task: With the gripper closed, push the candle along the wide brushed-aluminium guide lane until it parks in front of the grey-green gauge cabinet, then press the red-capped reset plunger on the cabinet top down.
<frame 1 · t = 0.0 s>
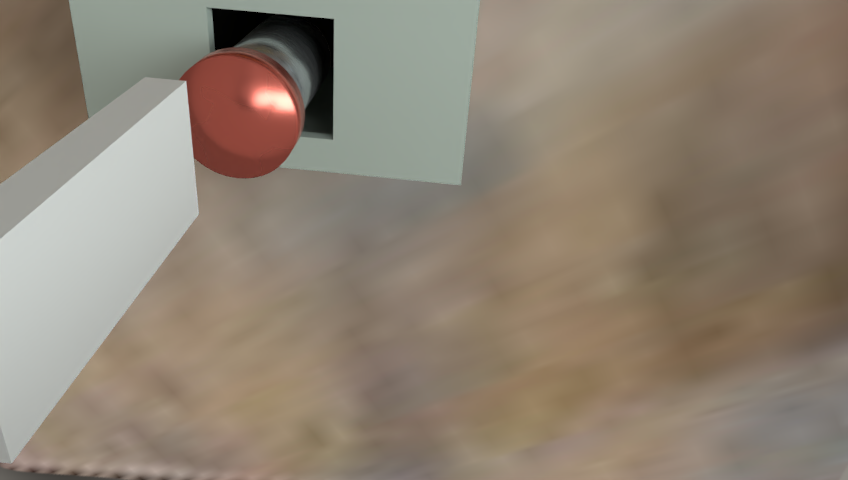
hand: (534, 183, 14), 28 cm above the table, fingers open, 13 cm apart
reset plunger: (265, 83, 29), point 13 cm above the table, slide at 0.0 cm
gauge cabinet: (330, 9, 40), on the table
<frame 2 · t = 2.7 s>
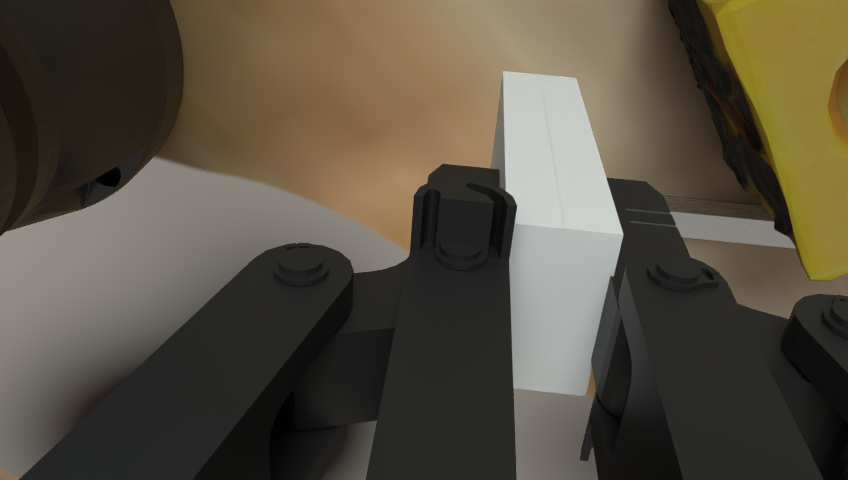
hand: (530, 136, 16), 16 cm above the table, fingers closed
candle: (813, 9, 29), on the table
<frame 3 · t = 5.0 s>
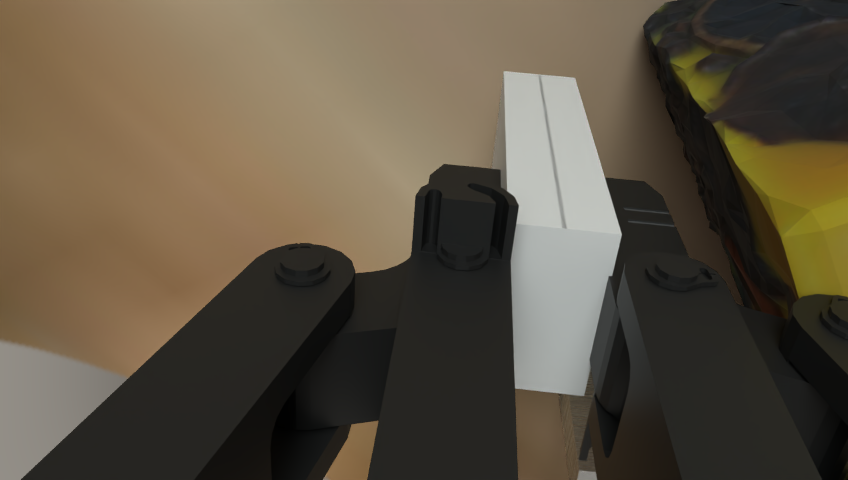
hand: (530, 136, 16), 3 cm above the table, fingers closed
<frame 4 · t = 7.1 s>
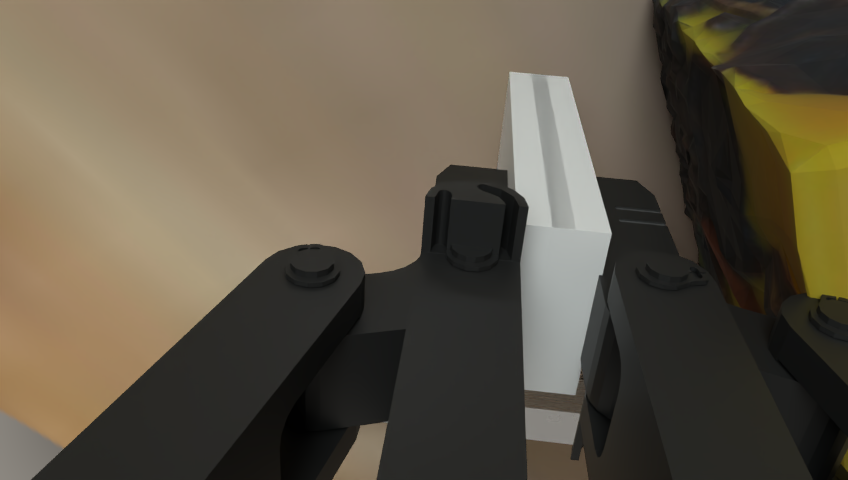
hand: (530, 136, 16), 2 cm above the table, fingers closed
rail track: (711, 112, 18), on the table
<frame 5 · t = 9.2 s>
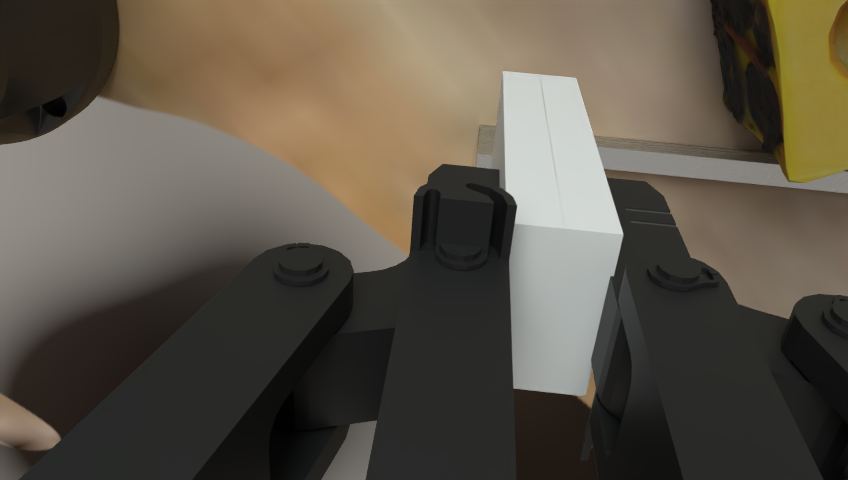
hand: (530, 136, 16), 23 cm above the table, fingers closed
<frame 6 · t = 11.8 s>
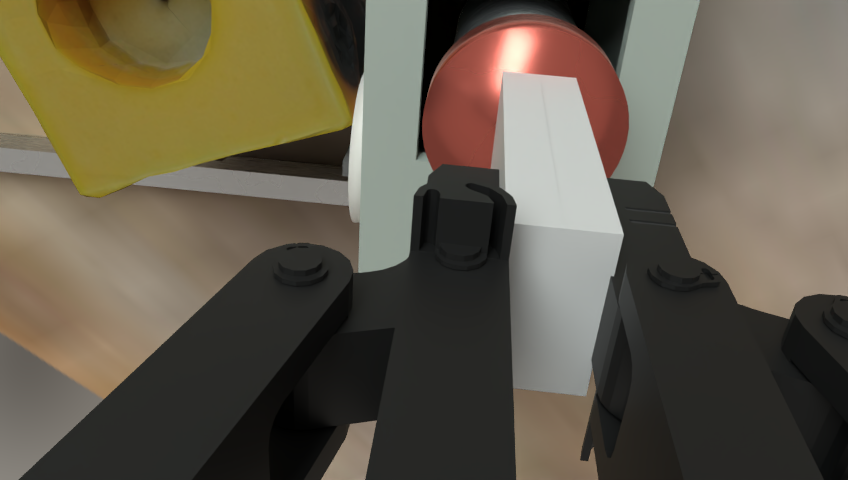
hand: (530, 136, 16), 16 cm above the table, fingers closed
reset plunger: (518, 74, 19), point 12 cm above the table, slide at 1.5 cm, touching gripper
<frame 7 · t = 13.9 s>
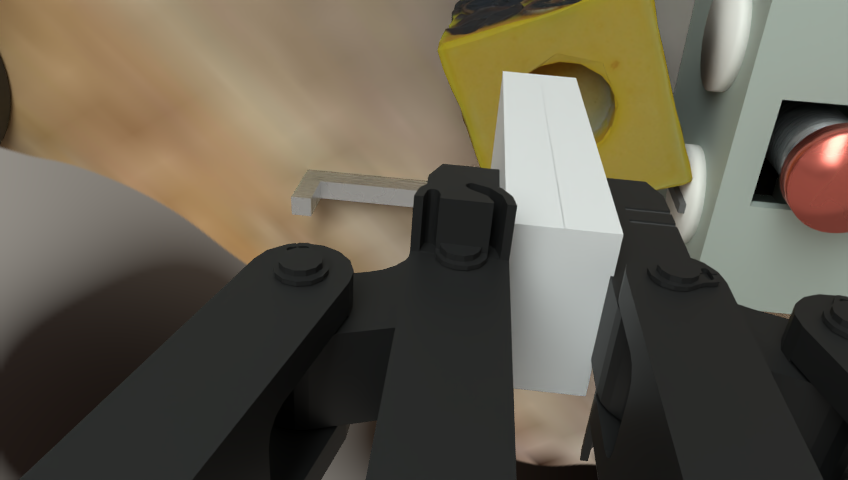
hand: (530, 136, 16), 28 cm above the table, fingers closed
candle: (560, 57, 43), on the table
rail track: (488, 55, 43), on the table
reset plunger: (813, 147, 33), point 11 cm above the table, slide at 2.5 cm
gauge cabinet: (750, 77, 42), on the table
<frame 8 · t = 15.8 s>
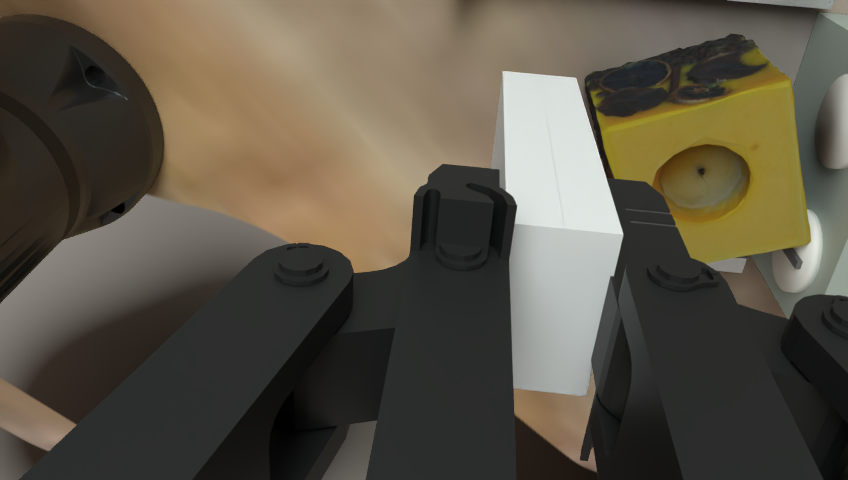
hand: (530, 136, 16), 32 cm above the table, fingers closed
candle: (672, 123, 49), on the table
rail track: (608, 120, 49), on the table
gauge cabinet: (839, 142, 48), on the table
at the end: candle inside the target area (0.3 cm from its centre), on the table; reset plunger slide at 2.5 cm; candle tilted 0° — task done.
